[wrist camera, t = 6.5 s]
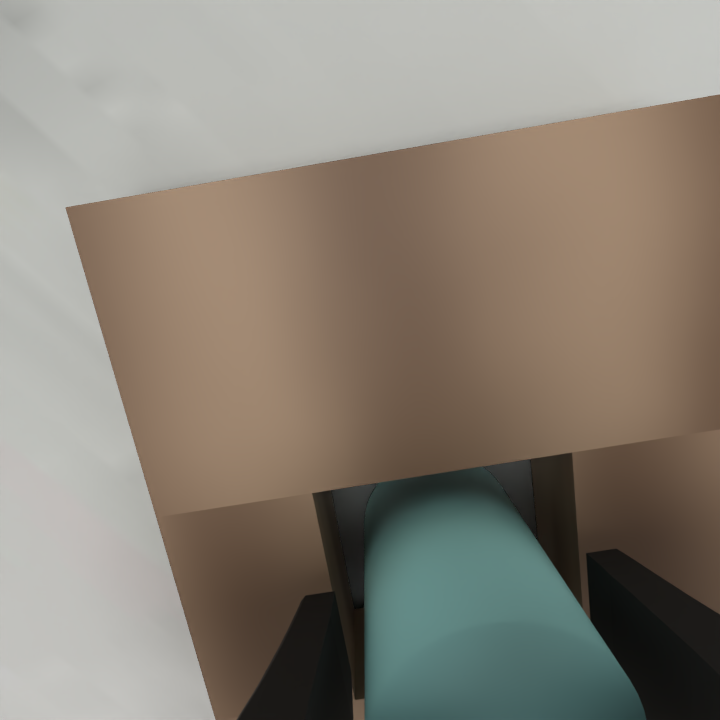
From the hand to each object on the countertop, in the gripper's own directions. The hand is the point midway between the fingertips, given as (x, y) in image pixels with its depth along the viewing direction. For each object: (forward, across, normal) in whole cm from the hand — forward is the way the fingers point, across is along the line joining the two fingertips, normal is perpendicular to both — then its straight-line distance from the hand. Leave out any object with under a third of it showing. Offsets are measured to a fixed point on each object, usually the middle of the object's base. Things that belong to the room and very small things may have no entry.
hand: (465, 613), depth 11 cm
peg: (+4, 0, 0) cm, 4 cm away
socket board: (+4, 0, 0) cm, 4 cm away
